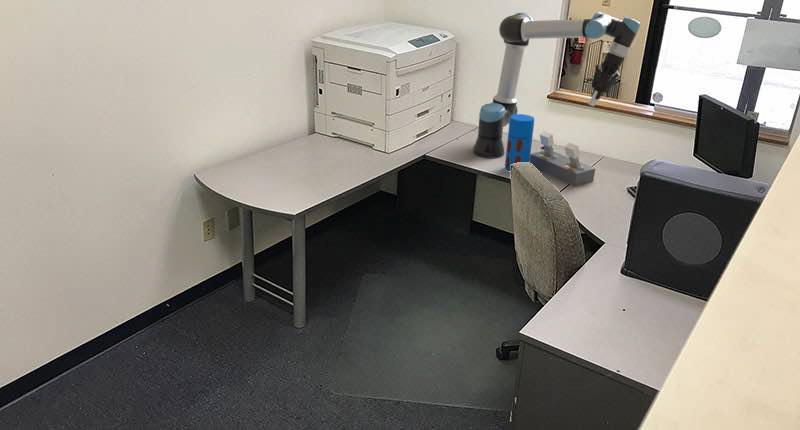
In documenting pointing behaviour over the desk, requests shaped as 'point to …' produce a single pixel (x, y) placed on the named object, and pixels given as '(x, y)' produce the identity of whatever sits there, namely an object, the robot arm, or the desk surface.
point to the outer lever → (573, 154)
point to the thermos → (519, 139)
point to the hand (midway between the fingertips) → (591, 105)
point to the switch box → (562, 168)
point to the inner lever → (547, 142)
